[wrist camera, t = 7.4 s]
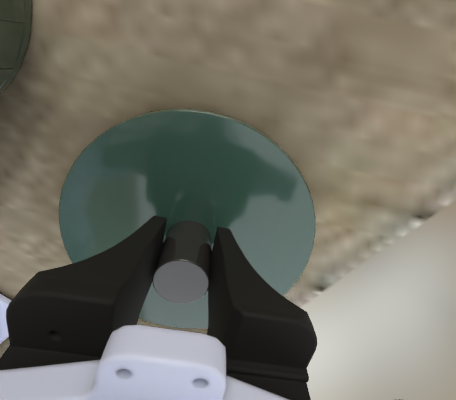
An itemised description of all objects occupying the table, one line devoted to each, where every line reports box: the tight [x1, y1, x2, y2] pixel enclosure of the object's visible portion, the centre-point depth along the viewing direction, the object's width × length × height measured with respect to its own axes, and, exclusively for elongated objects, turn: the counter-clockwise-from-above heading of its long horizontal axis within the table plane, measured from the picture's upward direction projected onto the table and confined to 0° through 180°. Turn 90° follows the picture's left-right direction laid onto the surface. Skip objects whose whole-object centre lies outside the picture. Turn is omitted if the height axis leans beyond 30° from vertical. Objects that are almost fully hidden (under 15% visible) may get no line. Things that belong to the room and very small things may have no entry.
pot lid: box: [59, 108, 315, 329], centre depth 14 cm, size 13×13×4 cm
